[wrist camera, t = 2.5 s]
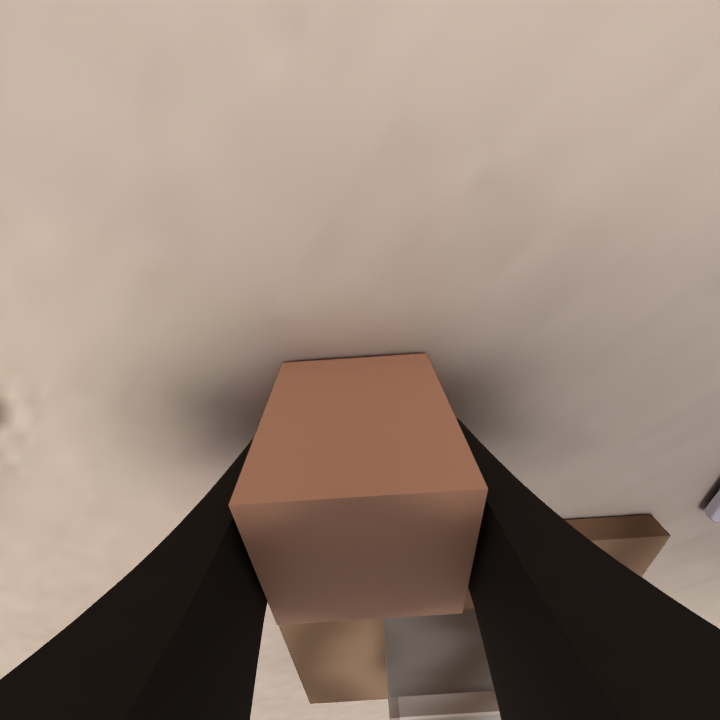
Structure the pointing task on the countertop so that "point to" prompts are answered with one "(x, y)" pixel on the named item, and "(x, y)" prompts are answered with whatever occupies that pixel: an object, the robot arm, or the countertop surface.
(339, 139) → the countertop surface
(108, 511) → the countertop surface
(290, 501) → the terracotta block
